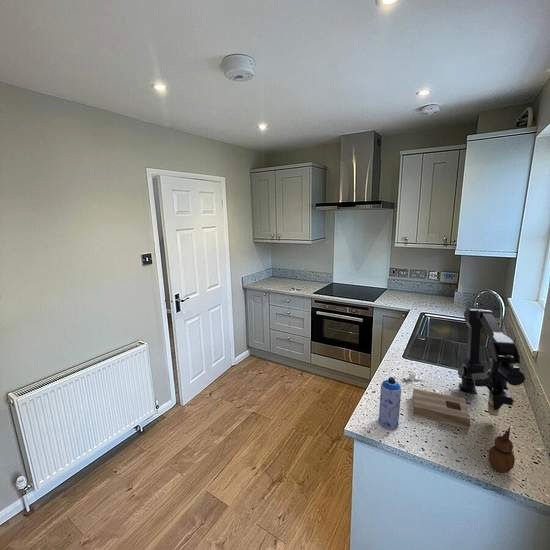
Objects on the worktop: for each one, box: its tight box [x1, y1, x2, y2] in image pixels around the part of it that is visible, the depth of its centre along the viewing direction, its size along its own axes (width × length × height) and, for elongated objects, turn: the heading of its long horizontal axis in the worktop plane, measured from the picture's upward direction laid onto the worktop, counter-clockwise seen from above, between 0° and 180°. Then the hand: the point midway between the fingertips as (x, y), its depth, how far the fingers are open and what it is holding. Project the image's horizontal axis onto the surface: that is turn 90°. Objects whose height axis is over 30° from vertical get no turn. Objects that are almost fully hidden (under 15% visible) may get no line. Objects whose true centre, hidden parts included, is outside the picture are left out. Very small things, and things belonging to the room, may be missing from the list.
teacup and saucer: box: [406, 371, 423, 385], centre depth 149 cm, size 9×8×4 cm
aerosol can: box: [377, 376, 402, 431], centre depth 117 cm, size 8×8×20 cm
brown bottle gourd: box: [487, 427, 516, 474], centre depth 96 cm, size 7×6×15 cm
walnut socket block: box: [412, 387, 471, 430], centre depth 125 cm, size 14×20×4 cm
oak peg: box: [487, 390, 501, 417], centre depth 118 cm, size 4×4×9 cm
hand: (493, 406), depth 118 cm, fingers closed on oak peg, 4 cm apart
